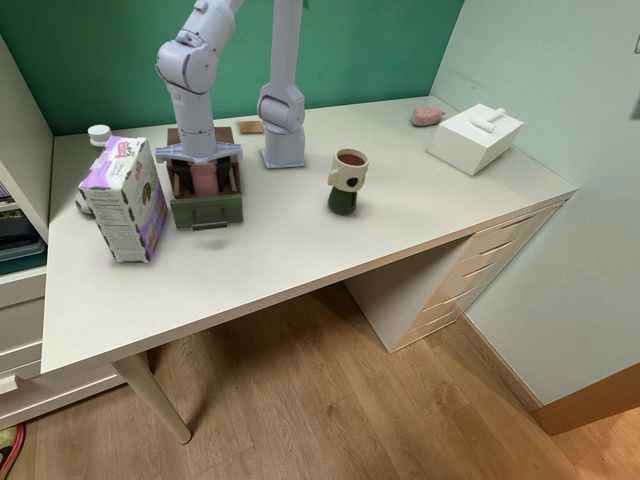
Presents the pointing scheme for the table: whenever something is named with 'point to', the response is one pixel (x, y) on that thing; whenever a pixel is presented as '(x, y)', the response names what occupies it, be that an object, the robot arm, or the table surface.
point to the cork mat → (250, 127)
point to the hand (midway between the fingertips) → (206, 190)
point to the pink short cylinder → (205, 180)
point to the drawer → (206, 207)
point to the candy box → (126, 198)
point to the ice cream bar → (426, 116)
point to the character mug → (346, 178)
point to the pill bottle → (99, 137)
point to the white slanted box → (474, 137)
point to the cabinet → (221, 136)
